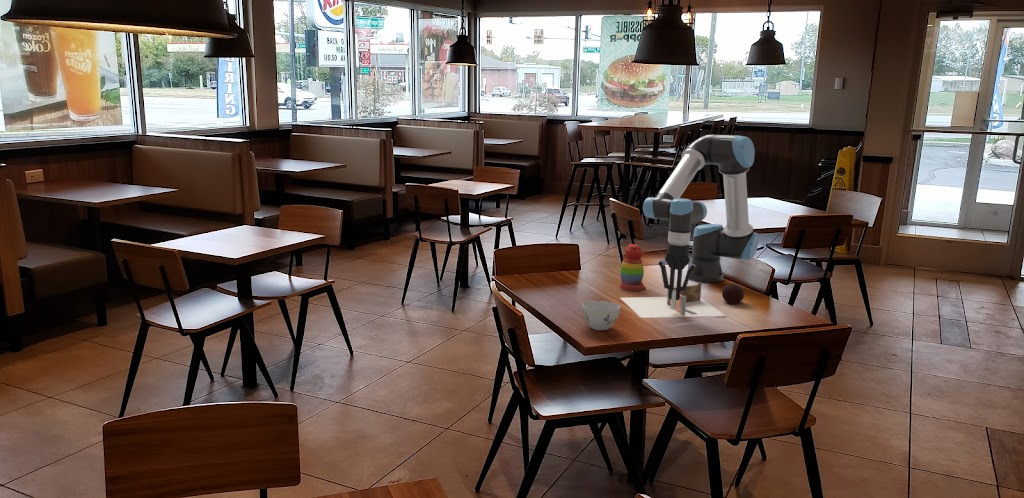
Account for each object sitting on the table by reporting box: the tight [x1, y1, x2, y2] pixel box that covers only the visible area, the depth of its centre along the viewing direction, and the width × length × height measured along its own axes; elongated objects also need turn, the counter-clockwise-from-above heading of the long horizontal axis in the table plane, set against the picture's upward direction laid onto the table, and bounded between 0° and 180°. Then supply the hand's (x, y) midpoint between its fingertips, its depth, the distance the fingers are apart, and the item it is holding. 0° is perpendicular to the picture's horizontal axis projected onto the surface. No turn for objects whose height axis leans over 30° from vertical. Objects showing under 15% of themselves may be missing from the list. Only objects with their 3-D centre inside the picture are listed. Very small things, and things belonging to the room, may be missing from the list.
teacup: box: [581, 300, 621, 331], centre depth 254 cm, size 15×12×8 cm
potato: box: [721, 283, 745, 305], centre depth 286 cm, size 8×9×8 cm
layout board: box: [620, 296, 727, 319], centre depth 279 cm, size 31×26×1 cm
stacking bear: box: [619, 242, 647, 292], centre depth 305 cm, size 11×10×18 cm
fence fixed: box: [666, 281, 703, 305], centre depth 284 cm, size 16×2×7 cm, turn 118°
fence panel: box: [670, 289, 686, 315], centre depth 273 cm, size 13×1×7 cm, turn 8°
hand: (673, 308), depth 270 cm, fingers closed
